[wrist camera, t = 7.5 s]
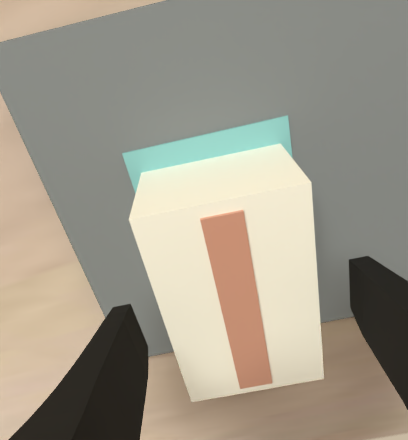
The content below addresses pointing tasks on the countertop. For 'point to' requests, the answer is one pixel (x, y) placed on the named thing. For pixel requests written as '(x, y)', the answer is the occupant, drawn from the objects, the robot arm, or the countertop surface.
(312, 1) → the mat
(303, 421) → the countertop surface
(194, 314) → the card box
